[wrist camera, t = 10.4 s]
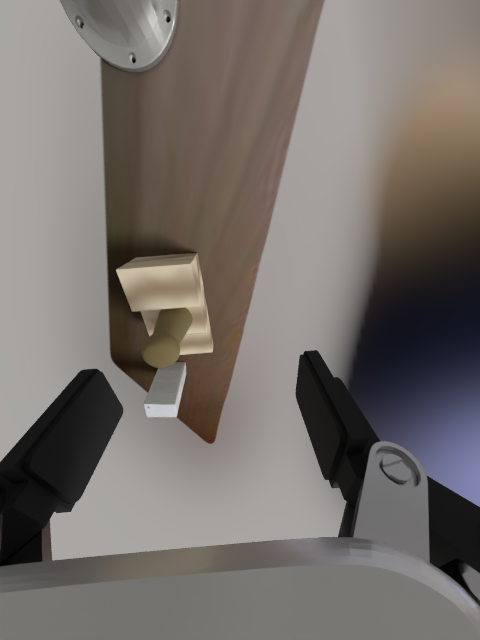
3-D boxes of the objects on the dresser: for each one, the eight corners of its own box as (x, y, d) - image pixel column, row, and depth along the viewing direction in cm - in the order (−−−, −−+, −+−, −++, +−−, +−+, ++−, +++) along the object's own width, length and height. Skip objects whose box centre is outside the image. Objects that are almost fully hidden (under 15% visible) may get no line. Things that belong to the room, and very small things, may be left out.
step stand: (136, 257, 36) (115, 269, 29) (197, 252, 36) (190, 263, 29) (166, 349, 46) (156, 372, 40) (213, 345, 46) (210, 368, 40)
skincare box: (162, 373, 50) (145, 417, 40) (160, 360, 48) (142, 403, 38) (187, 374, 51) (176, 417, 40) (186, 361, 49) (175, 404, 38)
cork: (167, 334, 38) (147, 378, 29) (153, 307, 35) (125, 346, 26) (197, 327, 38) (186, 369, 28) (185, 300, 35) (169, 336, 25)
